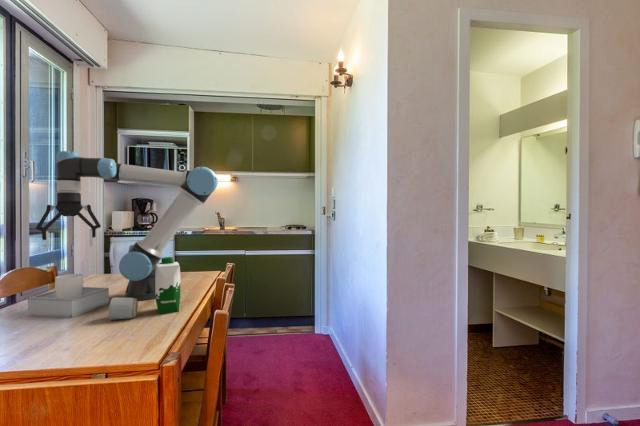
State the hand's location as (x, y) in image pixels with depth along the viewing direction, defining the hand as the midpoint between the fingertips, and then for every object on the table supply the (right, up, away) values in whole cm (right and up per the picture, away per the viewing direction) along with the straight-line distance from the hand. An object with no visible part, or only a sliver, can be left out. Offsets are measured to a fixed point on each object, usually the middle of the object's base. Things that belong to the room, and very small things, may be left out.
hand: (70, 247), depth 135 cm
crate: (0, -24, +1) cm, 24 cm away
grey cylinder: (+26, -25, -9) cm, 37 cm away
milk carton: (+38, -24, 0) cm, 45 cm away
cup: (0, -23, 0) cm, 23 cm away
